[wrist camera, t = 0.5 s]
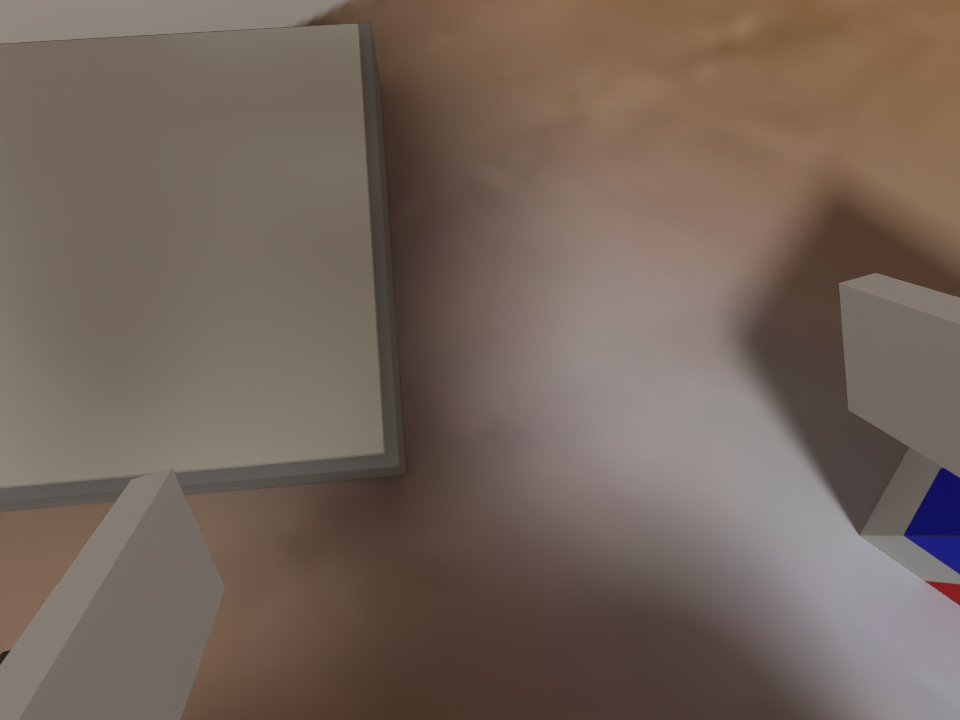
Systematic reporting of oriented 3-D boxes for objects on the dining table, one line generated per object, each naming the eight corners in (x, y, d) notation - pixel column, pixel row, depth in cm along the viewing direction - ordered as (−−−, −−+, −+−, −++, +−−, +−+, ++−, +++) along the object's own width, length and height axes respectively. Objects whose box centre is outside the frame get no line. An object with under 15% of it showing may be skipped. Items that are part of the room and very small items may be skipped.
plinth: (406, 474, 32) (397, 464, 27) (-56, 516, 31) (-151, 513, 26) (380, 81, 37) (368, 13, 32) (-24, 106, 36) (-99, 39, 31)
